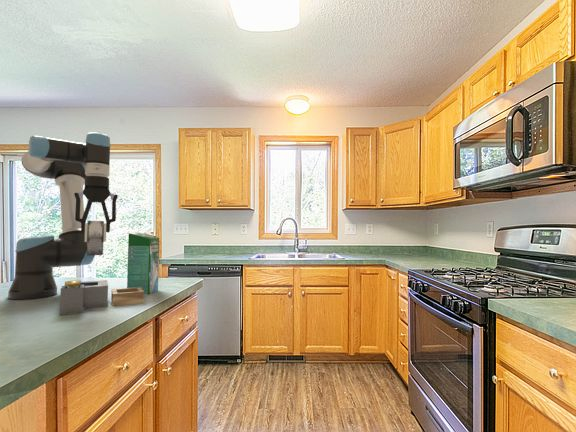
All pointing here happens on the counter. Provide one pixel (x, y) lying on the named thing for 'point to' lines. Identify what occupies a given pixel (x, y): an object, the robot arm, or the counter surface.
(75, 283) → the gold rounded cylinder
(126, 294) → the tray
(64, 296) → the socket block
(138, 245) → the milk carton
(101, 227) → the shiny silver rounded cylinder
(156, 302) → the counter surface
